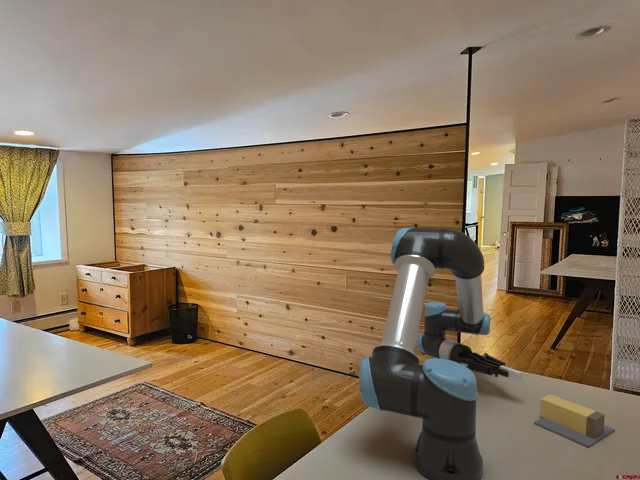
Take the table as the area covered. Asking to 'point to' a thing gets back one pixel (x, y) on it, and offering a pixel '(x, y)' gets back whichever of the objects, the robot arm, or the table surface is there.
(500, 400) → the table surface
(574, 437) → the charcoal mat
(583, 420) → the ochre post
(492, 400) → the table surface
